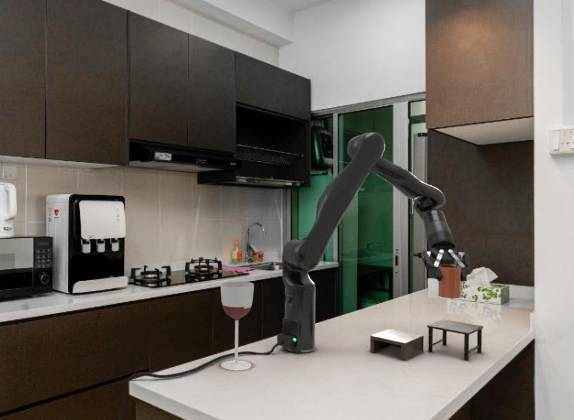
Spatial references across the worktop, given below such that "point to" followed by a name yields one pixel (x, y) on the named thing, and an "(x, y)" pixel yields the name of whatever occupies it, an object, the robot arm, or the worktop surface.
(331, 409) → the worktop surface
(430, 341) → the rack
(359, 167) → the robot arm
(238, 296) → the wineglass
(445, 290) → the cup
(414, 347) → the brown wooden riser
